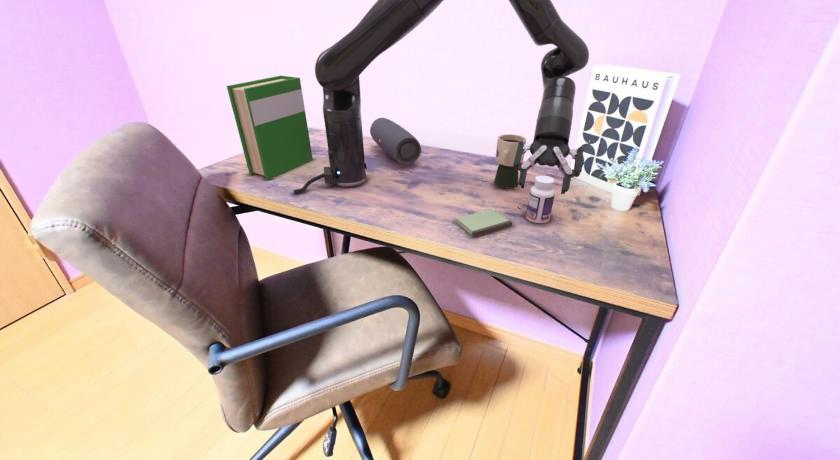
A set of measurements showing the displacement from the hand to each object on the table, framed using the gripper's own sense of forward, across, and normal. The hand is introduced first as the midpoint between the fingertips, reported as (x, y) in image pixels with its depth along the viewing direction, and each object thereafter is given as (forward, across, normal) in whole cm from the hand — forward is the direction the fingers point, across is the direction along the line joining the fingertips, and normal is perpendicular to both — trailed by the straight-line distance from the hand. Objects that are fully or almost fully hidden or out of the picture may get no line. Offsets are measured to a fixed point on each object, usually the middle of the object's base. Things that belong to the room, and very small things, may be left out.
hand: (542, 189), depth 80 cm
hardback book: (0, -74, +11) cm, 75 cm away
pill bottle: (+5, 0, +6) cm, 8 cm away
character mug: (-6, -9, +17) cm, 20 cm away
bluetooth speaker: (-14, -46, +25) cm, 54 cm away
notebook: (+10, -11, +1) cm, 15 cm away
